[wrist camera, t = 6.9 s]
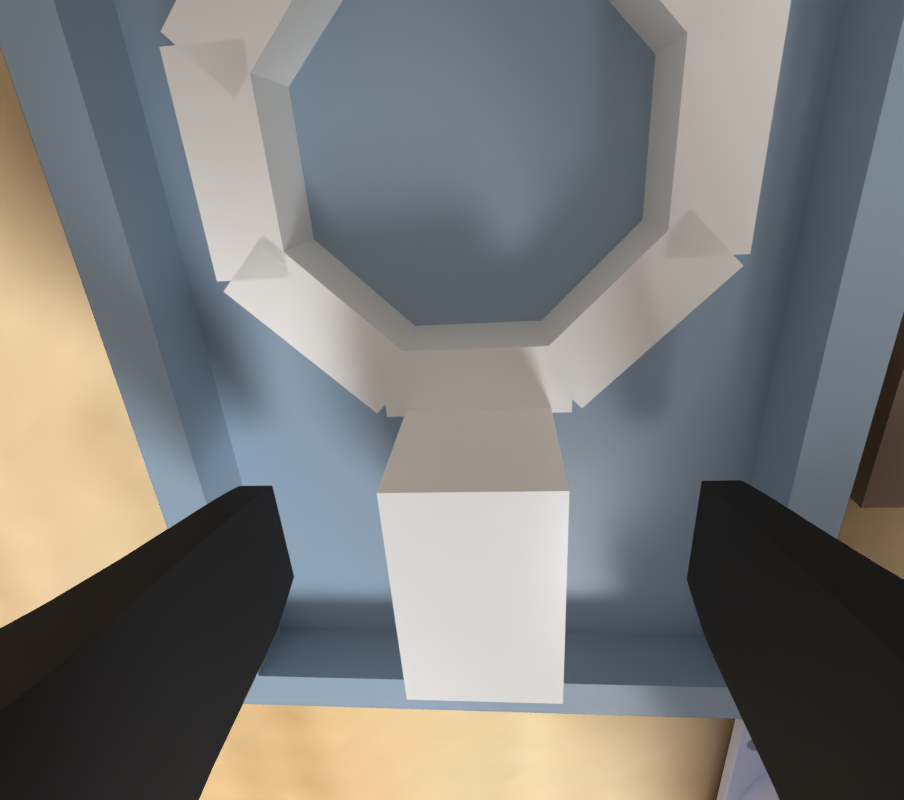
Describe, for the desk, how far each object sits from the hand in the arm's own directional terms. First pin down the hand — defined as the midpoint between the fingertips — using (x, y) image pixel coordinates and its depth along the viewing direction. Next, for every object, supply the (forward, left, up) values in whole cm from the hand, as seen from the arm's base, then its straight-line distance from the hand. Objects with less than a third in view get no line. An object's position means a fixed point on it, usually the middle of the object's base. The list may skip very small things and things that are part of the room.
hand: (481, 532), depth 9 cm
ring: (+4, 0, -2) cm, 5 cm away
